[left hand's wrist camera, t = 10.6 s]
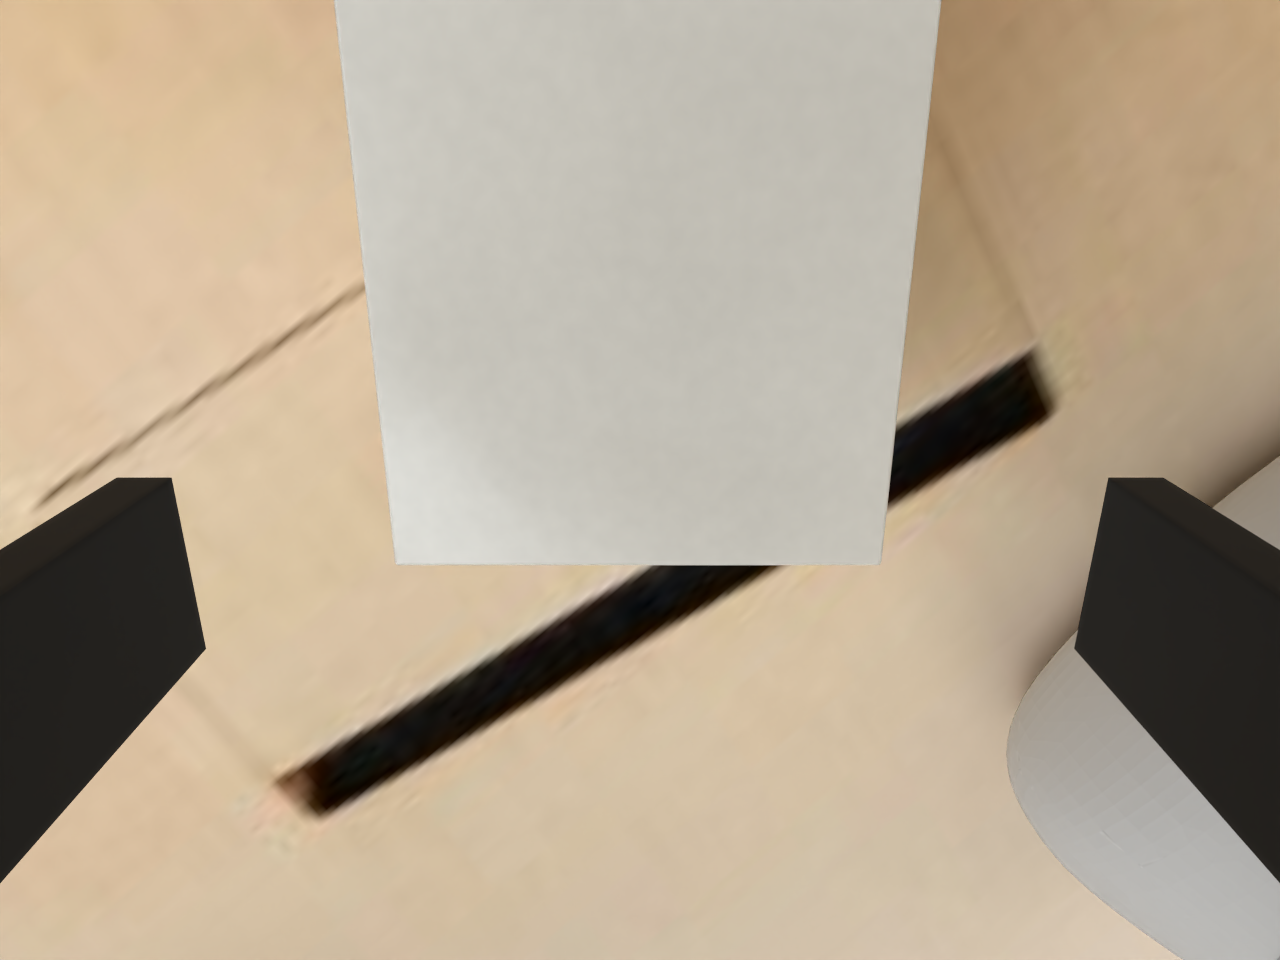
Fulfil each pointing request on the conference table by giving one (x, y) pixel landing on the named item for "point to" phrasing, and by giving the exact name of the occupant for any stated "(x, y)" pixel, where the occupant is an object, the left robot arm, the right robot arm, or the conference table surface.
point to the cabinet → (637, 271)
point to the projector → (1143, 800)
